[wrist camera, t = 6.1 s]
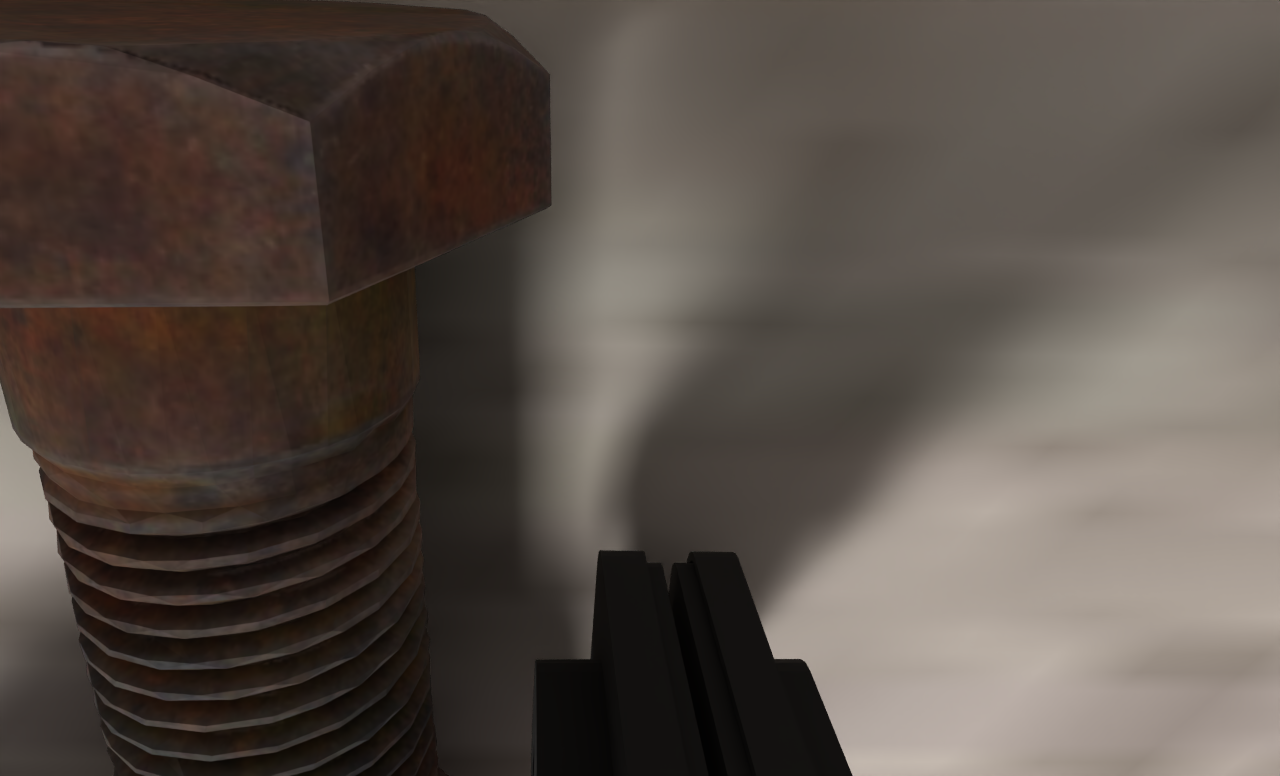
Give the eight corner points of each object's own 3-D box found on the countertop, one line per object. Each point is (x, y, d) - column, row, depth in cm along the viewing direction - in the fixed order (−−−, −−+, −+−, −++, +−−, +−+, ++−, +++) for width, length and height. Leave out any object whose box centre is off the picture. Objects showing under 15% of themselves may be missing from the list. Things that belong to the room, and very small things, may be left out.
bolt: (338, 915, 17) (210, -13, 11) (599, 1037, 15) (625, 13, 9) (32, 1299, 12) (-522, 5, 6) (363, 1543, 10) (68, 68, 4)
